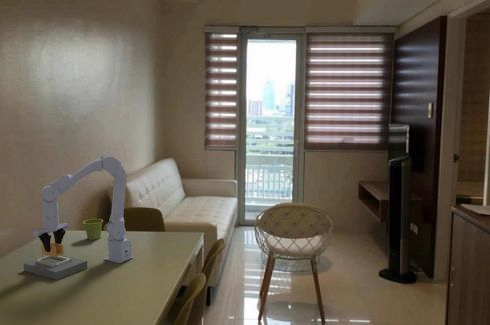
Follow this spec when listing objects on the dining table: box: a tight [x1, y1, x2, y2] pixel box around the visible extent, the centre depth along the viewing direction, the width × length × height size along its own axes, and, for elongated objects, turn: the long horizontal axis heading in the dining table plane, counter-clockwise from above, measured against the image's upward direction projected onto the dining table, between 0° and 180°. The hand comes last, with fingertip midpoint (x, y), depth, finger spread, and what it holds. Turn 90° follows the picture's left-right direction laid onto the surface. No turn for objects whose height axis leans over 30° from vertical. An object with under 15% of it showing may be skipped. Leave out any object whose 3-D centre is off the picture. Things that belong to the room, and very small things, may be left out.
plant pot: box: [82, 218, 104, 241], centre depth 215 cm, size 9×9×9 cm
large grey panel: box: [23, 254, 88, 281], centre depth 173 cm, size 20×14×4 cm
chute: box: [40, 241, 65, 257], centre depth 173 cm, size 8×4×4 cm, turn 60°
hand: (53, 249), depth 172 cm, fingers closed on chute, 4 cm apart
